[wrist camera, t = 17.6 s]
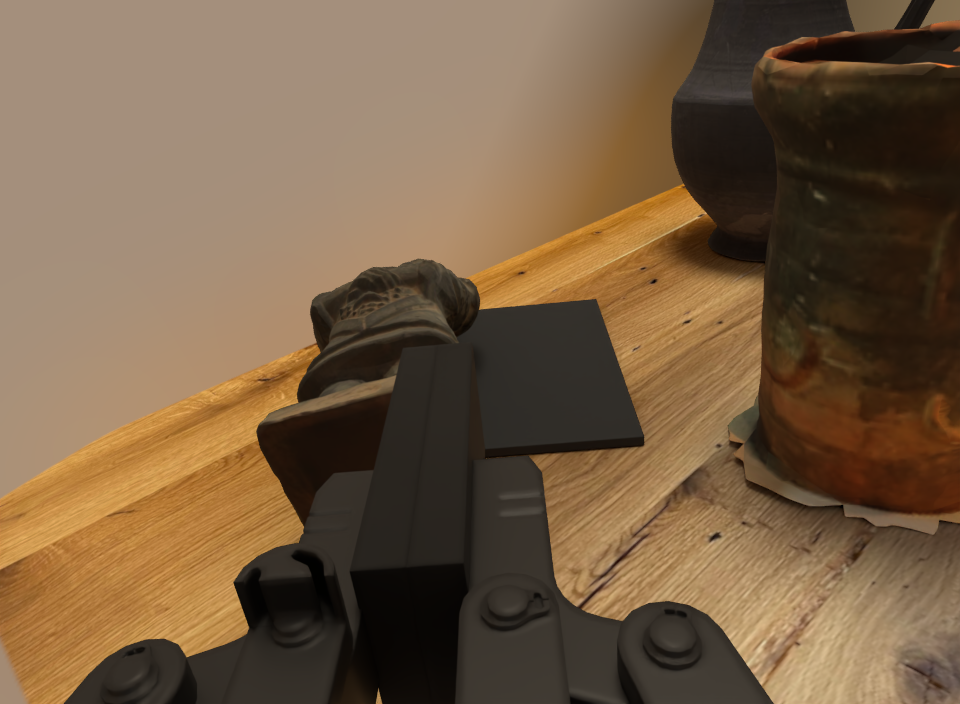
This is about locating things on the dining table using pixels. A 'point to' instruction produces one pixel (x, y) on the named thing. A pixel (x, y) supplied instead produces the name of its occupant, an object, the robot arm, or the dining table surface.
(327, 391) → the statue
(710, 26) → the pitcher
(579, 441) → the mat
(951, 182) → the vessel
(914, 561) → the dining table surface
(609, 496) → the dining table surface
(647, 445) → the dining table surface
